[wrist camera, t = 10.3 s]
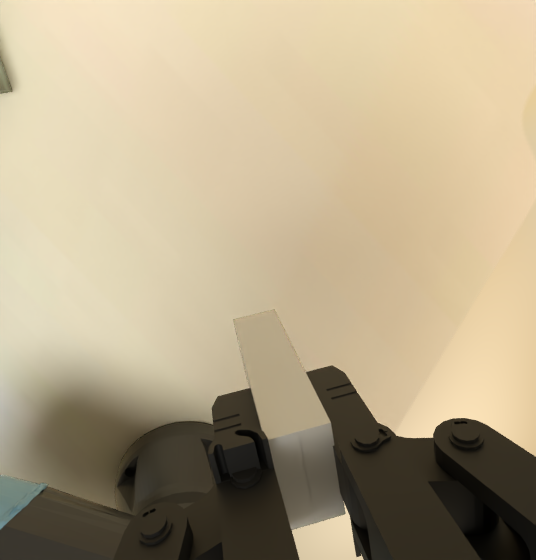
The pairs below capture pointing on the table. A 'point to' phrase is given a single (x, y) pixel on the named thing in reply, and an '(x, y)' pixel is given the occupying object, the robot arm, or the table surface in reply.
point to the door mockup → (4, 80)
